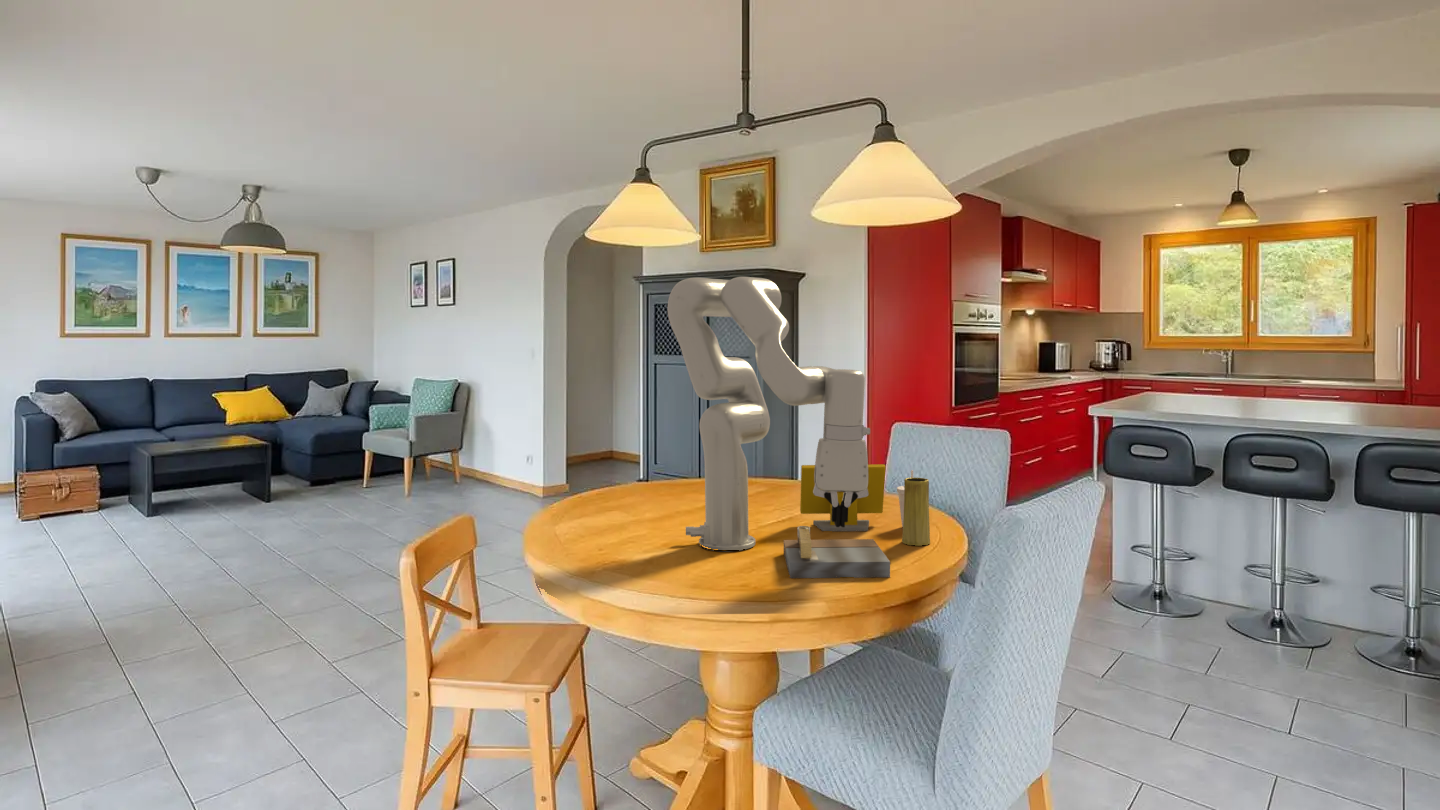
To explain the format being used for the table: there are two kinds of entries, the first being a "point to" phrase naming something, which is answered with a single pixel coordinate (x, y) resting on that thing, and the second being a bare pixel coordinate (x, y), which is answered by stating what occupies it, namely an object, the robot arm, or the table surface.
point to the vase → (916, 512)
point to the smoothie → (902, 498)
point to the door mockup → (837, 559)
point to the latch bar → (804, 541)
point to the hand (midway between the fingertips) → (839, 525)
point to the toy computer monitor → (860, 505)
